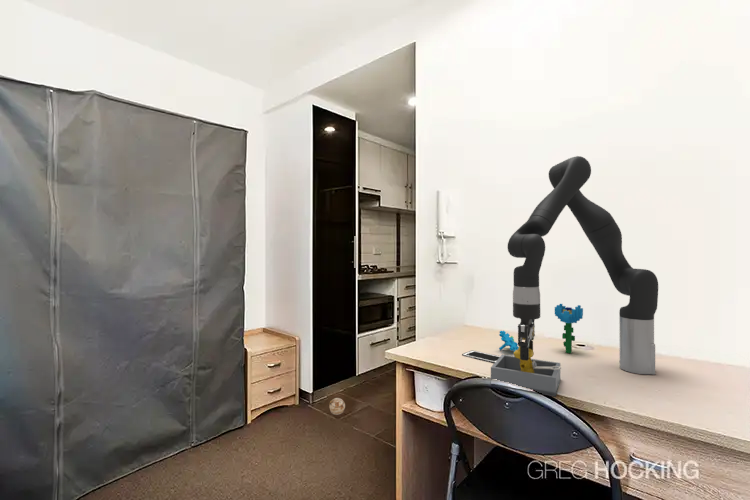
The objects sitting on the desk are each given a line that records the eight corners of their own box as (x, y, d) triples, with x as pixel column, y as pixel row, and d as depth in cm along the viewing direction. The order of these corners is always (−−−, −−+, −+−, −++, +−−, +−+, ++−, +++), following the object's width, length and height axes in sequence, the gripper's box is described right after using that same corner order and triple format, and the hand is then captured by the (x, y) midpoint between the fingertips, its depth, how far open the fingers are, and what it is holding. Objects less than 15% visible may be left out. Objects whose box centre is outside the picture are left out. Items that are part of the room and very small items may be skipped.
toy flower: (579, 357, 131) (579, 308, 131) (552, 352, 137) (552, 305, 137) (584, 351, 138) (584, 305, 138) (558, 347, 144) (558, 302, 144)
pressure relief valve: (523, 374, 111) (516, 341, 112) (565, 375, 103) (557, 340, 104) (517, 380, 107) (510, 346, 107) (560, 382, 99) (552, 345, 100)
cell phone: (498, 365, 123) (498, 362, 123) (461, 356, 134) (460, 354, 134) (508, 360, 129) (508, 358, 129) (471, 352, 139) (471, 350, 139)
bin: (560, 379, 109) (560, 362, 109) (555, 396, 96) (555, 378, 96) (502, 369, 118) (502, 354, 118) (490, 384, 105) (490, 367, 105)
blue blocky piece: (518, 354, 132) (498, 332, 136) (506, 363, 135) (487, 341, 138) (524, 347, 142) (506, 326, 145) (512, 355, 144) (495, 335, 148)
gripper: (536, 305, 99) (537, 364, 99) (543, 299, 111) (543, 352, 111) (508, 303, 103) (508, 360, 103) (517, 297, 115) (517, 348, 115)
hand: (526, 356), depth 107 cm, fingers open, 8 cm apart
